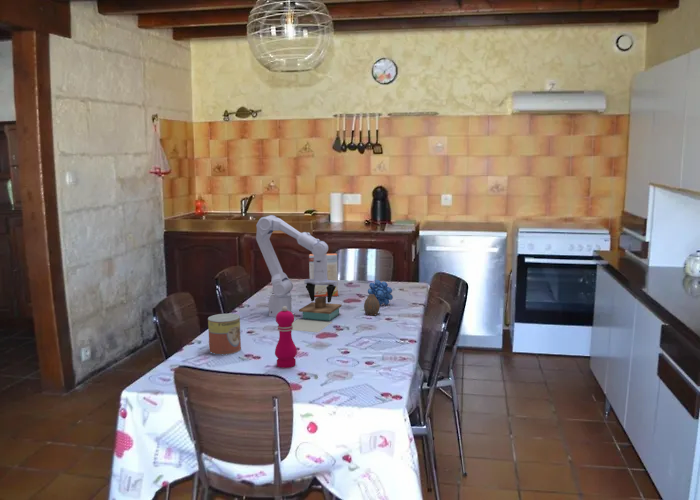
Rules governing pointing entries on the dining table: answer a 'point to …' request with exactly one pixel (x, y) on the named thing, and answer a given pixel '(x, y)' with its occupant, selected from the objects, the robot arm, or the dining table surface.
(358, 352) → the dining table surface
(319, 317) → the dish
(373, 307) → the brown egg-shaped piece
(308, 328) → the mat
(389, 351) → the dining table surface
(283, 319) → the pepper mill
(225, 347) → the canned food
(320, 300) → the lid
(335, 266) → the cracker box
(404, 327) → the dining table surface
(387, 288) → the grapes
